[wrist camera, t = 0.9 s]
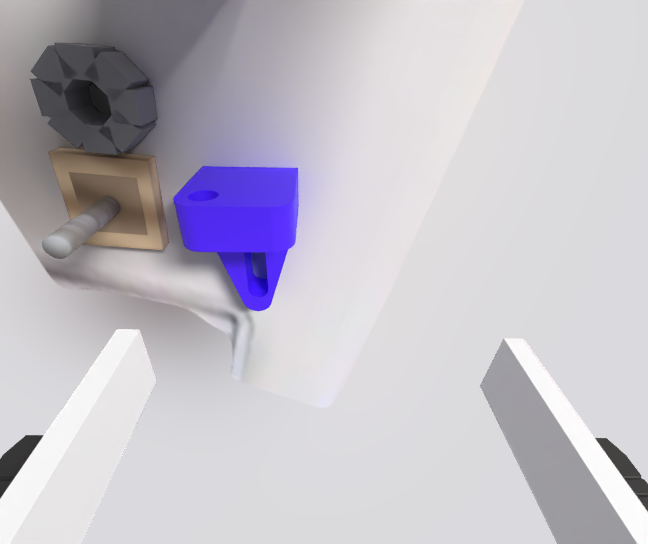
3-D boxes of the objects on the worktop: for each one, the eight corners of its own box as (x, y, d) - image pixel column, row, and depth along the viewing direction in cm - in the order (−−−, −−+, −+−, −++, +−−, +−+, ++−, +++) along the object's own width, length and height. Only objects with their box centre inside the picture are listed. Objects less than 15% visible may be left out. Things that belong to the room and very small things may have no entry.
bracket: (202, 166, 39) (165, 205, 29) (297, 167, 39) (293, 207, 29) (224, 291, 49) (201, 352, 39) (299, 291, 49) (296, 352, 39)
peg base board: (59, 147, 37) (-34, 183, 27) (154, 156, 38) (98, 194, 28) (88, 236, 43) (20, 293, 33) (168, 242, 44) (126, 299, 34)
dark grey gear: (47, 39, 32) (16, 38, 28) (147, 51, 32) (128, 51, 29) (76, 139, 37) (52, 148, 33) (162, 147, 37) (147, 157, 34)
